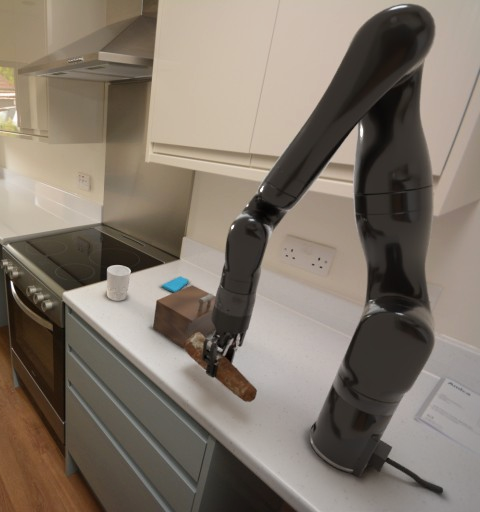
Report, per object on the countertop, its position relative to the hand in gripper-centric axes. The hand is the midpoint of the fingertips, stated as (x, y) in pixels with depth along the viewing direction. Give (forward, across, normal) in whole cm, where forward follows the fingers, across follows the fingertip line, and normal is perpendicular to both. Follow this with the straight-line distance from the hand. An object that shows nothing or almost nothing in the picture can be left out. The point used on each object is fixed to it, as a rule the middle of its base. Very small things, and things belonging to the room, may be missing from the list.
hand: (218, 368), depth 77 cm
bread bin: (+6, +15, +19) cm, 25 cm away
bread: (+2, 0, 0) cm, 2 cm away
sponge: (+6, +34, +38) cm, 52 cm away
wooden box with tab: (-3, +15, +19) cm, 24 cm away
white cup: (+6, +10, +45) cm, 47 cm away
